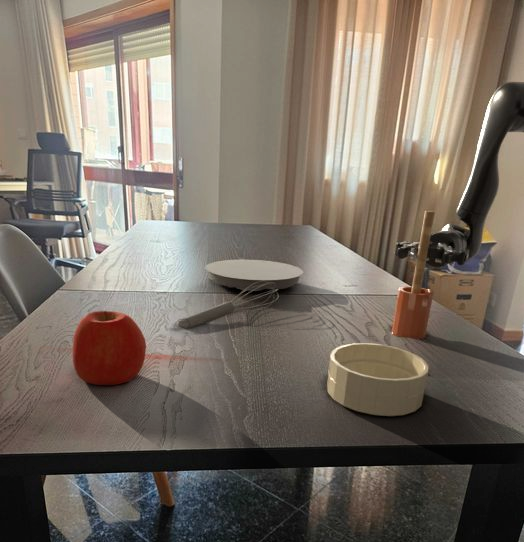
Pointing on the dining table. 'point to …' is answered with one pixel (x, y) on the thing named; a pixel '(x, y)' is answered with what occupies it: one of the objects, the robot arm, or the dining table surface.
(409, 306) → the crock
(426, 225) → the wooden stick
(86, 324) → the apple
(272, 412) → the dining table surface
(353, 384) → the mixing bowl
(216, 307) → the kitchen whisk
